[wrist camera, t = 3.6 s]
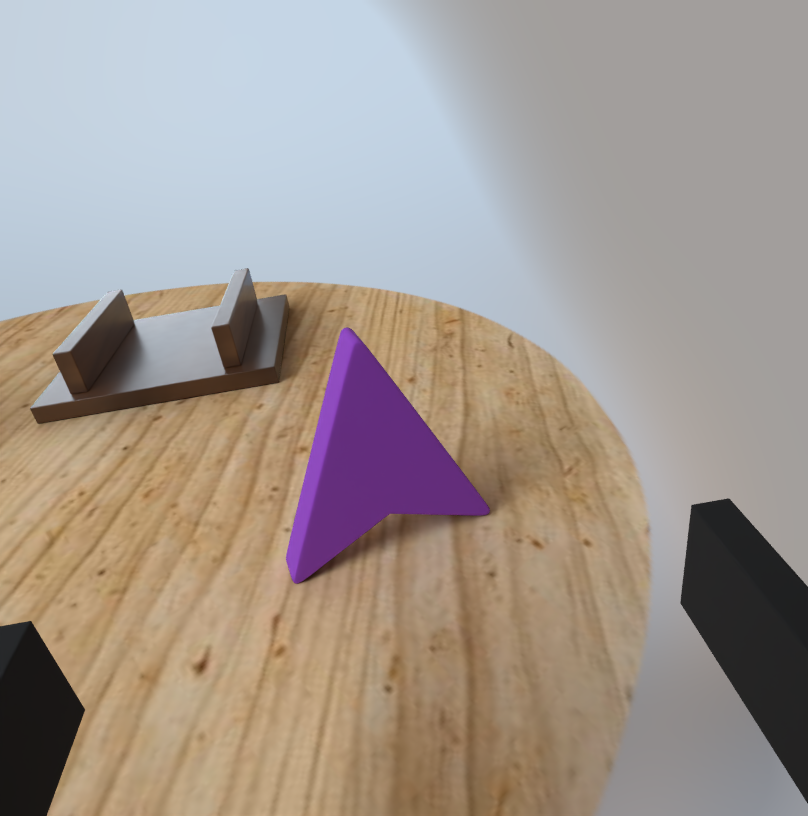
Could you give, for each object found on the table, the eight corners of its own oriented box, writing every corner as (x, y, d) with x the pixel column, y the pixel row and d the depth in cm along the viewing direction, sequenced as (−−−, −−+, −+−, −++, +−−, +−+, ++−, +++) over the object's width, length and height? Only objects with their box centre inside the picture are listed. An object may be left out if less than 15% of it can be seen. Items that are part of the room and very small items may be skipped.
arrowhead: (410, 620, 29) (211, 559, 24) (398, 596, 31) (207, 533, 26) (541, 445, 28) (356, 338, 22) (522, 428, 29) (344, 323, 24)
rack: (289, 307, 55) (277, 259, 53) (278, 382, 42) (263, 323, 40) (101, 339, 54) (82, 292, 52) (37, 424, 42) (8, 367, 40)
